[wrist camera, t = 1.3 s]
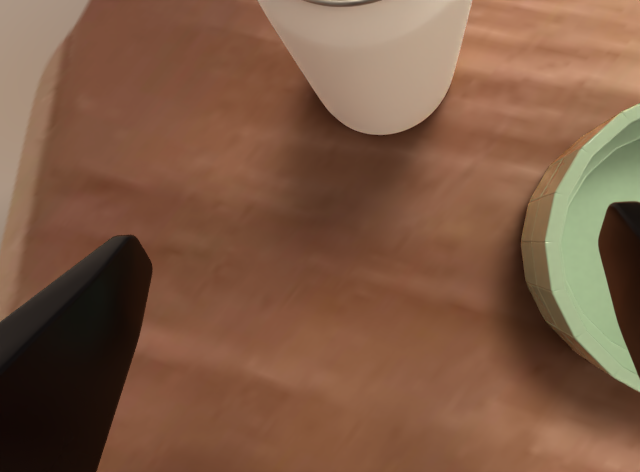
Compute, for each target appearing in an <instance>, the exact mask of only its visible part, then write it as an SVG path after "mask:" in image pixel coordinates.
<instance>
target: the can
mask: <svg viewBox="0 0 640 472" xmlns="http://www.w3.org/2000/svg"><path fill="white" fill-rule="evenodd" d="M258 2H259V4H260V6H261V8H262V9H263V11H264V13H265V14H266V16H267V18H268V19H269V21H270V23H271V24H272V26H273V27H274V29H275V31H276V32H277V34H278V35H279V37H280V38H281V40H282V42H283V43H284V45H285V46H286V48H287V49H288V51H289V53H290V54H291V56H292V57H293V59H294V60H295V62H296V63H297V65H298V67H299V68H300V70H301V71H302V73H303V74H304V76H305V77H306V79H307V81H308V82H309V84H310V85H311V87H312V88H313V90H314V91H315V93H316V94H317V96H318V97H319V99H320V100H321V102H322V103H323V104H324V106H325V107H326V108H327V110H328V111H329V112H330V113H331V114H332V115H333V116H334V117H335V118H337V119H338V120H339V121H340V122H341V123H343V124H344V125H346V126H347V127H349V128H351V129H353V130H355V131H358V132H362V133H366V134H372V135H388V134H394V133H398V132H402V131H405V130H407V129H410V128H412V127H414V126H415V125H417V124H419V123H420V122H422V121H423V120H425V119H426V118H427V117H428V116H429V115H430V114H432V113H433V111H434V110H435V109H436V108H437V107H438V106H439V104H440V103H441V102H442V100H443V98H444V97H445V95H446V93H447V91H448V89H449V86H450V84H451V81H452V78H453V74H454V71H455V67H456V63H457V59H458V56H459V52H460V48H461V44H462V40H463V36H464V32H465V28H466V24H467V20H468V16H469V12H470V8H471V4H472V0H258Z"/></svg>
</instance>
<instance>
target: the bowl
mask: <svg viewBox="0 0 640 472" xmlns="http://www.w3.org/2000/svg"><path fill="white" fill-rule="evenodd" d="M623 201H638V202H640V103H639V104H637V105H634V106H632V107H630V108H628V109H626V110H624V111H622V112H620V113H619V114H617V115H615V116H614V117H612V118H611V119H609V120H607V121H606V122H604V123H603V124H601V125H599V126H598V127H596V128H595V129H593V130H591V131H590V132H588V133H587V134H585V135H584V136H582V137H581V138H580V139H578V140H577V141H576V142H575V143H574V144H573V145H572V146H571V147H569V148H568V149H567V150H566V151H565V152H564V153H563V154H562V155H561V156H559V157H558V158H557V159H556V160H555V161H554V162H553V163H552V164H551V166H550V167H549V168H548V169H547V171H546V173H545V175H544V176H543V178H542V180H541V181H540V183H539V185H538V187H537V188H536V190H535V192H534V193H533V195H532V197H531V199H530V202H529V203H528V208H527V213H526V217H525V222H524V227H523V232H522V237H521V251H522V258H523V265H524V273H525V280H526V283H527V286H528V288H529V290H530V292H531V294H532V296H533V298H534V300H535V302H536V304H537V306H538V308H539V310H540V312H541V314H542V316H543V318H544V320H546V323H547V324H548V325H549V326H550V327H551V328H552V329H553V330H554V331H555V332H556V333H557V334H558V335H559V336H560V337H561V338H562V339H563V340H564V341H565V342H566V343H567V344H568V345H569V346H570V347H571V348H572V349H573V350H574V351H575V352H576V353H577V354H579V355H580V356H582V357H583V358H585V359H586V360H588V361H589V362H591V363H592V364H594V365H595V366H596V367H598V368H599V369H601V370H602V371H604V372H605V373H607V374H608V375H610V376H611V377H613V378H614V379H616V380H618V381H620V382H621V383H623V384H625V385H627V386H629V387H630V388H632V389H634V390H636V391H638V392H639V393H640V379H639V376H638V374H637V371H636V369H635V366H634V364H633V361H632V359H631V356H630V354H629V351H628V349H627V346H626V344H625V341H624V339H623V336H622V334H621V331H620V328H619V325H618V322H617V319H616V315H615V311H614V308H613V304H612V300H611V296H610V292H609V288H608V284H607V280H606V276H605V272H604V269H603V265H602V261H601V257H600V253H599V248H598V237H599V233H600V230H601V227H602V223H603V220H604V217H605V214H606V210H607V208H608V206H609V205H610V204H611V203H613V202H623Z"/></svg>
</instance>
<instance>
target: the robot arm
mask: <svg viewBox="0 0 640 472" xmlns="http://www.w3.org/2000/svg"><path fill="white" fill-rule="evenodd" d="M598 248H599V253H600V257H601V261H602V265H603V269H604V272H605V276H606V280H607V284H608V288H609V292H610V296H611V300H612V304H613V308H614V311H615V315H616V319H617V322H618V325H619V328H620V331H621V334H622V336H623V339H624V341H625V344H626V346H627V349H628V351H629V354H630V356H631V359H632V361H633V364H634V366H635V369H636V371H637V374H638V376H639V379H640V202H638V201H623V202H613V203H611V204H610V205H609V206H608V208H607V210H606V214H605V217H604V220H603V223H602V227H601V230H600V233H599V237H598ZM151 277H152V263H151V261H150V259H149V257H148V255H147V254H146V252H145V250H144V249H143V247H142V245H141V244H140V242H139V240H138V239H137V238H136V237H135V236H134V235H118V236H114V237H112V238H111V239H109V240H108V241H107V242H105V243H104V244H103V245H101V246H100V247H99V248H97V249H96V250H95V251H93V252H92V253H91V254H89V255H88V256H87V257H85V258H84V259H83V260H81V261H80V262H79V263H77V264H76V265H75V266H74V267H72V268H71V269H70V270H68V271H67V272H66V273H64V274H63V275H62V276H60V277H59V278H58V279H56V280H55V281H54V282H52V283H51V284H50V285H48V286H47V287H46V288H44V289H43V290H42V291H40V292H39V293H38V294H37V295H35V296H34V297H33V298H31V299H30V300H29V301H27V302H26V303H25V304H23V305H22V306H21V307H19V308H18V309H17V310H15V311H14V312H13V313H11V314H10V315H9V316H7V317H6V318H5V319H4V320H2V321H1V322H0V472H96V471H97V468H98V465H99V462H100V459H101V455H102V452H103V449H104V446H105V443H106V440H107V437H108V433H109V430H110V427H111V424H112V421H113V418H114V415H115V412H116V408H117V405H118V402H119V399H120V396H121V393H122V390H123V386H124V383H125V380H126V377H127V374H128V371H129V368H130V364H131V361H132V358H133V355H134V352H135V349H136V346H137V342H138V339H139V335H140V331H141V326H142V322H143V317H144V312H145V307H146V302H147V297H148V292H149V287H150V282H151Z"/></svg>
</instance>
